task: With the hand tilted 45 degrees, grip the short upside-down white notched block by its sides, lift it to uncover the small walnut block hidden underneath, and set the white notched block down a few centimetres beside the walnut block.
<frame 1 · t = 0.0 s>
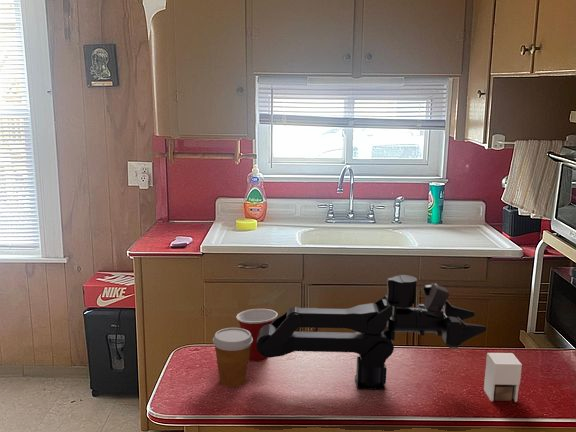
hand: (480, 321, 147), 17 cm above the table, tool horizontal, fingers open, 9 cm apart
walnut block: (501, 389, 145), in the white notched block
disposable coffee cup: (232, 381, 150), on the table
white notched block: (500, 396, 145), on the table
plastic cup: (256, 357, 164), on the table
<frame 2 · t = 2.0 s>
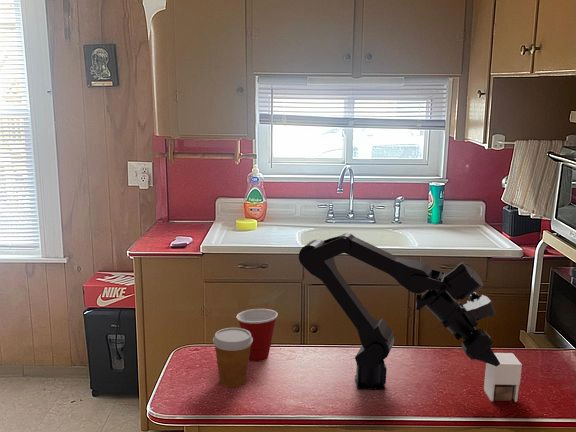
hand: (491, 356, 143), 10 cm above the table, tool tilted 45°, fingers open, 9 cm apart
nothing on the table moved.
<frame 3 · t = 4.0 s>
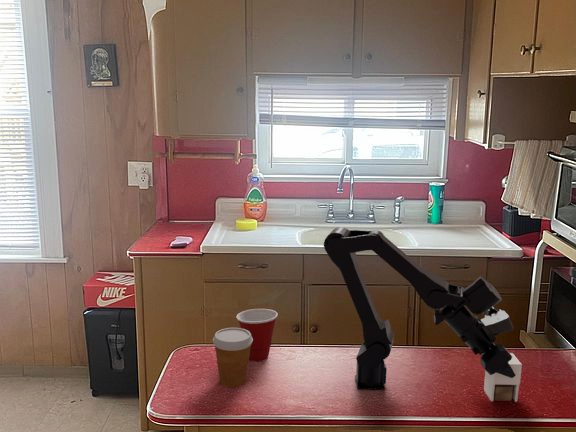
hand: (509, 370, 144), 7 cm above the table, tool tilted 45°, fingers closed on white notched block, 6 cm apart
white notched block: (500, 396, 145), on the table, touching gripper
everything else where it was.
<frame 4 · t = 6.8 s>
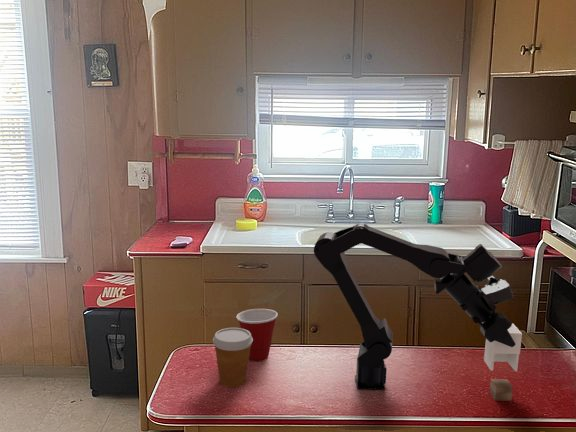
hand: (509, 340, 144), 13 cm above the table, tool tilted 45°, fingers closed on white notched block, 6 cm apart
white notched block: (500, 366, 145), point 7 cm above the table, touching gripper
everything else where it was.
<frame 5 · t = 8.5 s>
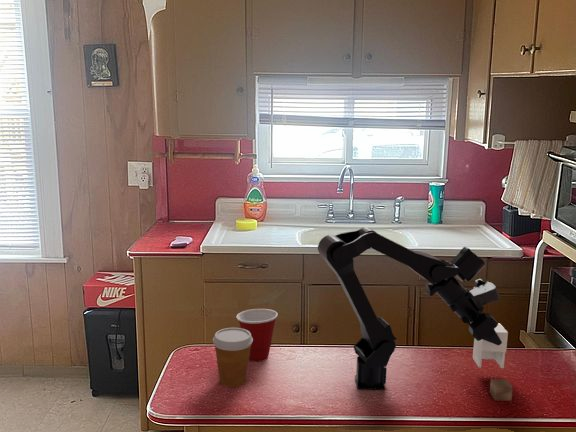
hand: (496, 338, 153), 10 cm above the table, tool tilted 45°, fingers closed on white notched block, 6 cm apart
white notched block: (488, 363, 154), point 4 cm above the table, touching gripper
everything else where it was.
when the fingers open (8 cm above the table, at t = 9.8 s): white notched block drops 1 cm, on the table.
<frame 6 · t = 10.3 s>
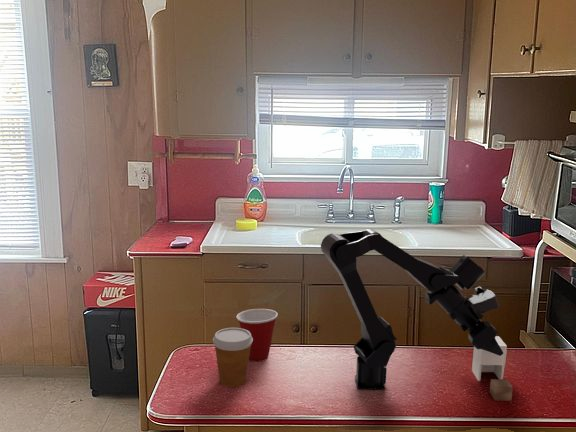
hand: (495, 346, 153), 8 cm above the table, tool tilted 45°, fingers open, 9 cm apart
white notched block: (487, 376, 155), on the table
everything else where it was.
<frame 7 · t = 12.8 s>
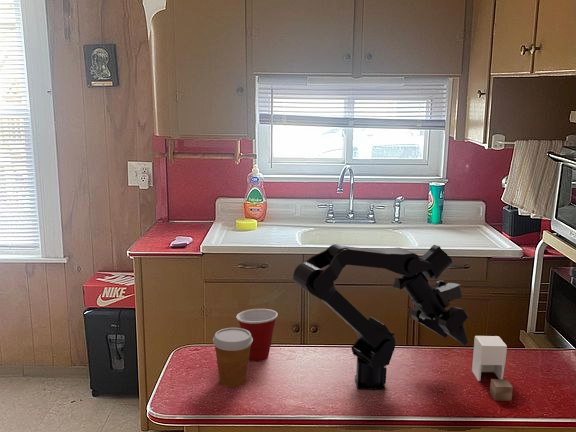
hand: (456, 340, 154), 9 cm above the table, tool tilted 35°, fingers open, 9 cm apart
nothing on the table moved.
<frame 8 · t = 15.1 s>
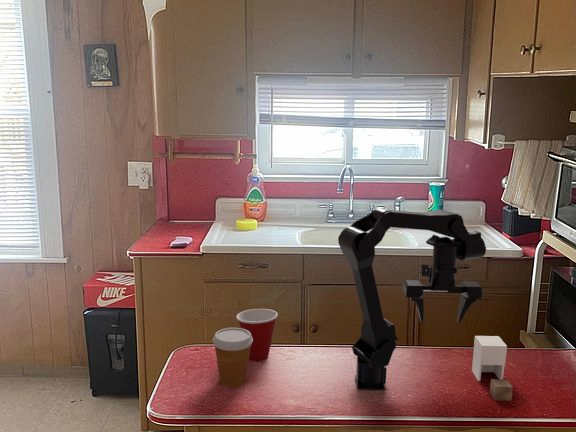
hand: (440, 322, 155), 13 cm above the table, tool pointing down, fingers open, 9 cm apart
nothing on the table moved.
at the end: white notched block inside the target area (0.0 cm from its centre), on the table; white notched block tilted 0°; walnut block moved 0.1 cm from its start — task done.
